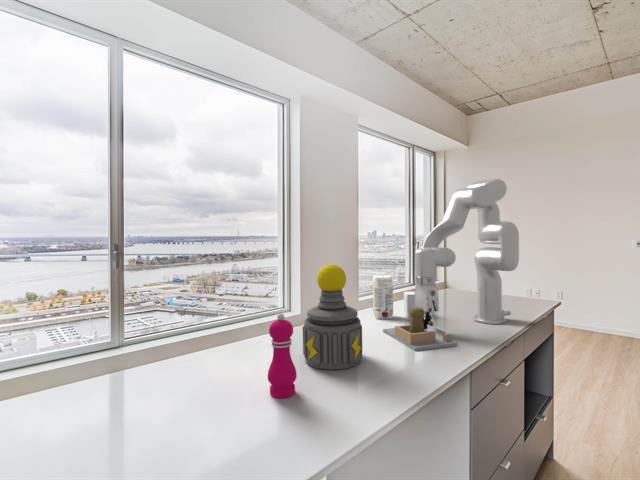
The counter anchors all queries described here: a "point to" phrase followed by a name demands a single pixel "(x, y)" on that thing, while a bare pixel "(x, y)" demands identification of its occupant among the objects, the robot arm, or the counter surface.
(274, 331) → the pepper mill
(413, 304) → the small box
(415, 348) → the dock
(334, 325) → the decorative lamp
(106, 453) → the counter surface
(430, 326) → the bar
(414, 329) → the cork
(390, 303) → the juice carton
